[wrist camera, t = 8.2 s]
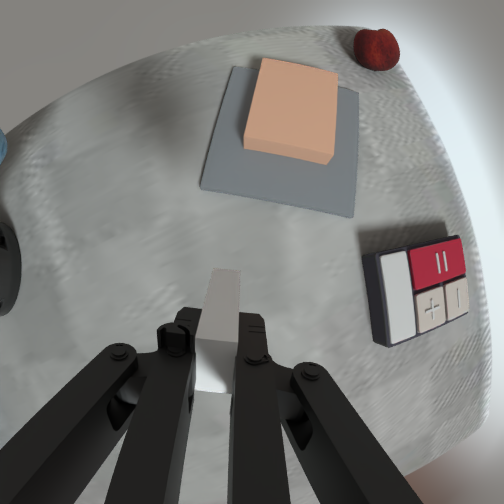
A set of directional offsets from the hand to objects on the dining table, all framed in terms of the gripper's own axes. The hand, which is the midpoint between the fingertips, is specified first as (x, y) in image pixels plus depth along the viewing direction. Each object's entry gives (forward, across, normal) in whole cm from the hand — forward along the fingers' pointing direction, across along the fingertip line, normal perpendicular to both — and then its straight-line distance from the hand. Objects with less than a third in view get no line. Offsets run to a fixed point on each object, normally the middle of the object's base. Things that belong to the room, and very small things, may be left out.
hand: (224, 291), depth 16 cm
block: (+18, +5, +9) cm, 20 cm away
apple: (+28, +18, +28) cm, 43 cm away
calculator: (+14, +24, -5) cm, 28 cm away
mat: (+21, +5, +12) cm, 25 cm away
